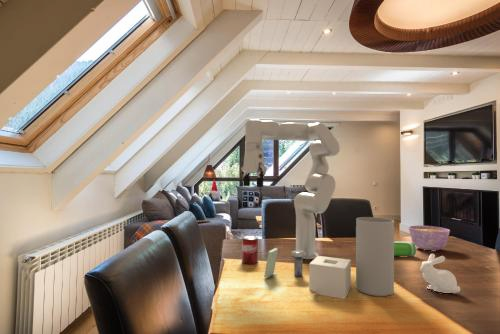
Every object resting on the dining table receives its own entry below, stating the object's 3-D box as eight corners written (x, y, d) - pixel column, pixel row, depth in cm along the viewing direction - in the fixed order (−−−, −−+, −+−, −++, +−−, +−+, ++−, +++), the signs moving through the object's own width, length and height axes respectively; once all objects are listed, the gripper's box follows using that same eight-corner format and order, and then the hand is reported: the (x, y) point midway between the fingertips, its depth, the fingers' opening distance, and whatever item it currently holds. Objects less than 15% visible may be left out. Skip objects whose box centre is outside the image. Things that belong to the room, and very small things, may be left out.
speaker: (410, 255, 165) (410, 240, 165) (416, 258, 158) (416, 243, 158) (375, 254, 166) (375, 239, 167) (379, 257, 159) (379, 242, 159)
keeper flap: (271, 272, 129) (275, 247, 128) (273, 273, 128) (278, 248, 128) (264, 277, 122) (268, 251, 122) (266, 278, 122) (271, 252, 121)
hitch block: (317, 282, 122) (318, 255, 122) (350, 287, 117) (350, 259, 117) (309, 292, 111) (309, 263, 111) (344, 299, 106) (345, 268, 106)
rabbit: (418, 288, 116) (418, 255, 116) (427, 282, 122) (427, 251, 123) (457, 298, 107) (457, 262, 107) (464, 291, 114) (464, 257, 114)
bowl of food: (450, 248, 180) (450, 227, 180) (449, 256, 163) (449, 233, 163) (410, 244, 190) (410, 224, 191) (406, 250, 174) (406, 229, 174)
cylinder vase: (390, 300, 105) (390, 223, 106) (352, 292, 112) (352, 220, 112) (396, 288, 116) (396, 219, 116) (360, 282, 123) (360, 216, 123)
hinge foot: (272, 276, 128) (272, 273, 128) (277, 277, 127) (277, 274, 127) (266, 281, 122) (266, 279, 122) (270, 282, 121) (270, 279, 121)
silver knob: (293, 275, 130) (293, 249, 130) (307, 277, 128) (307, 251, 128) (289, 279, 125) (289, 252, 125) (303, 281, 122) (303, 254, 123)
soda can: (256, 267, 140) (256, 239, 140) (240, 266, 142) (240, 239, 142) (259, 263, 147) (259, 236, 147) (243, 261, 149) (244, 235, 149)
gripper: (272, 147, 138) (272, 187, 138) (248, 149, 152) (248, 185, 152) (258, 146, 134) (258, 187, 133) (235, 148, 147) (235, 185, 147)
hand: (253, 186), depth 142 cm, fingers open, 9 cm apart
